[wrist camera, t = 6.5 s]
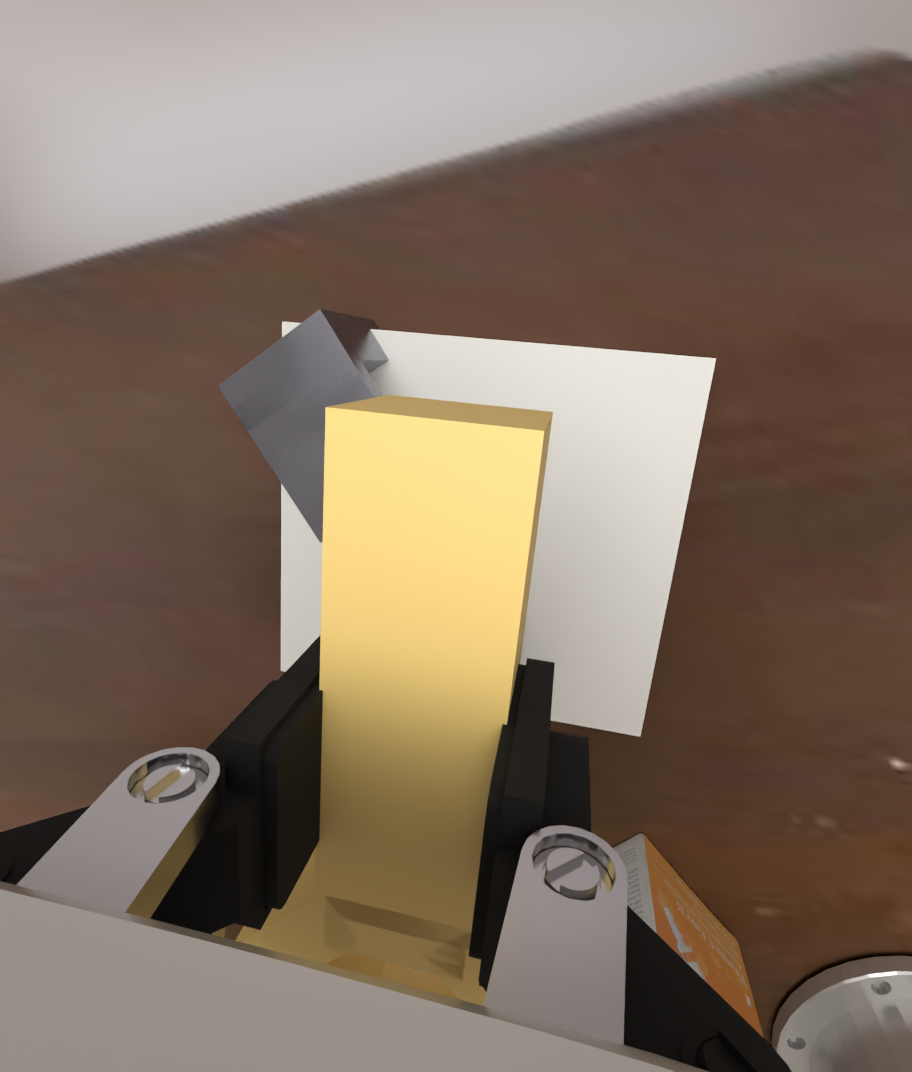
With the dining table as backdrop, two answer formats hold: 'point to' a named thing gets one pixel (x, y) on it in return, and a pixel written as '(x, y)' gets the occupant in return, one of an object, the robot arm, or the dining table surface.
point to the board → (561, 504)
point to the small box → (686, 924)
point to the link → (413, 680)
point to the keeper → (305, 398)
